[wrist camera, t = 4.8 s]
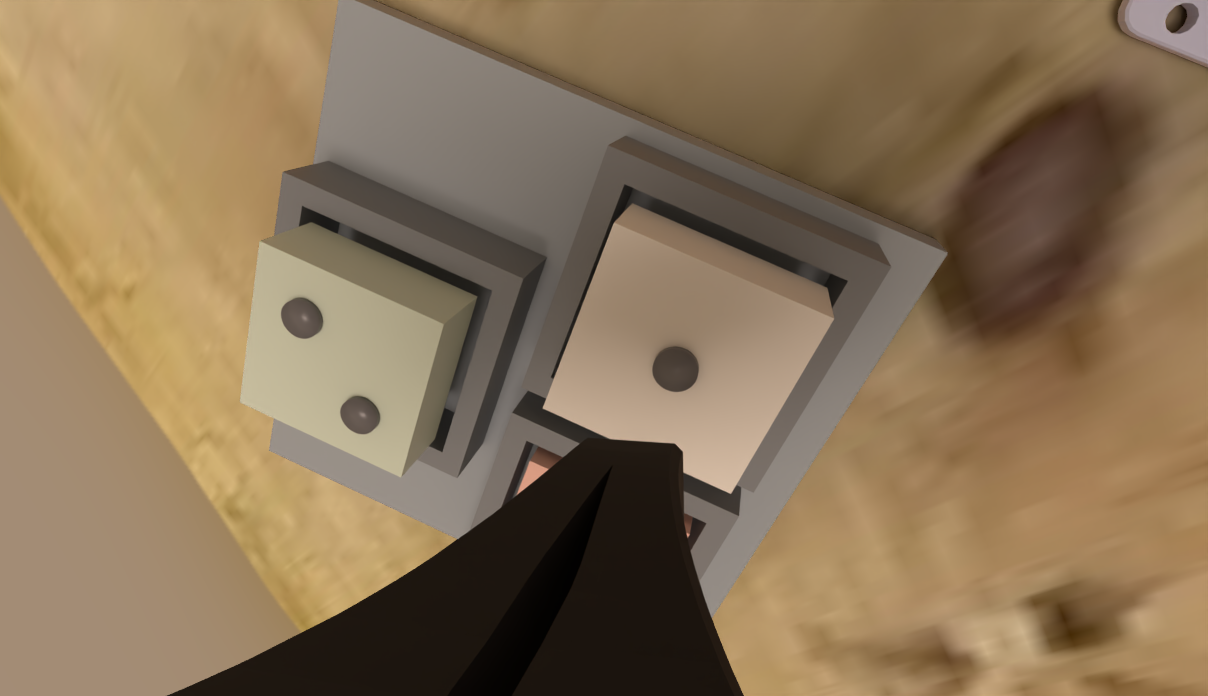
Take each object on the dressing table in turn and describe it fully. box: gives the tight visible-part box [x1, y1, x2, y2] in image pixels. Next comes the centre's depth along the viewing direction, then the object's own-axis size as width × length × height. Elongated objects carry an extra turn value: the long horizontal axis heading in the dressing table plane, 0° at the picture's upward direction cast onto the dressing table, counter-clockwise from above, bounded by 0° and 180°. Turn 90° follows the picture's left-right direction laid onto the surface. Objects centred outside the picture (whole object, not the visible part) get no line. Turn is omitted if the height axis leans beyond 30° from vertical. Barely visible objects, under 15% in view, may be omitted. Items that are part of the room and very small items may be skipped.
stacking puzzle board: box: [269, 0, 948, 618], centre depth 18 cm, size 15×14×3 cm
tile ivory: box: [543, 203, 834, 494], centre depth 14 cm, size 4×4×2 cm
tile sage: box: [240, 222, 477, 477], centre depth 16 cm, size 4×4×2 cm
